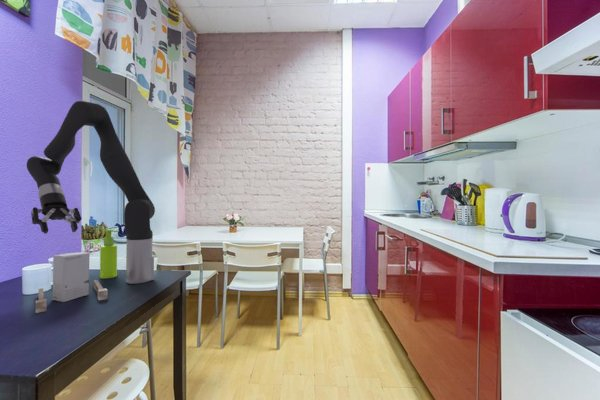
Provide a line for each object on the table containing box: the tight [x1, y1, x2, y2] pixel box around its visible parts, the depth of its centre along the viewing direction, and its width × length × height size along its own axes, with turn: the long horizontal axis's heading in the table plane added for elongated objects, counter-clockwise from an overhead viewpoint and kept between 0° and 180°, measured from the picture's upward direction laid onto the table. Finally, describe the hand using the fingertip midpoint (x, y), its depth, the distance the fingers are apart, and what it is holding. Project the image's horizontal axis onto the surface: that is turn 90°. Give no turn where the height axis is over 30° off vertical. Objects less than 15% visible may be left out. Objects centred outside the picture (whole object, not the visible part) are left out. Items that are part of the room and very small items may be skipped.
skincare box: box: [51, 251, 90, 303], centre depth 96 cm, size 8×6×15 cm
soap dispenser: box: [99, 228, 120, 280], centre depth 120 cm, size 6×7×20 cm
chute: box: [35, 279, 109, 314], centre depth 95 cm, size 18×18×3 cm
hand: (61, 231), depth 106 cm, fingers open, 8 cm apart
